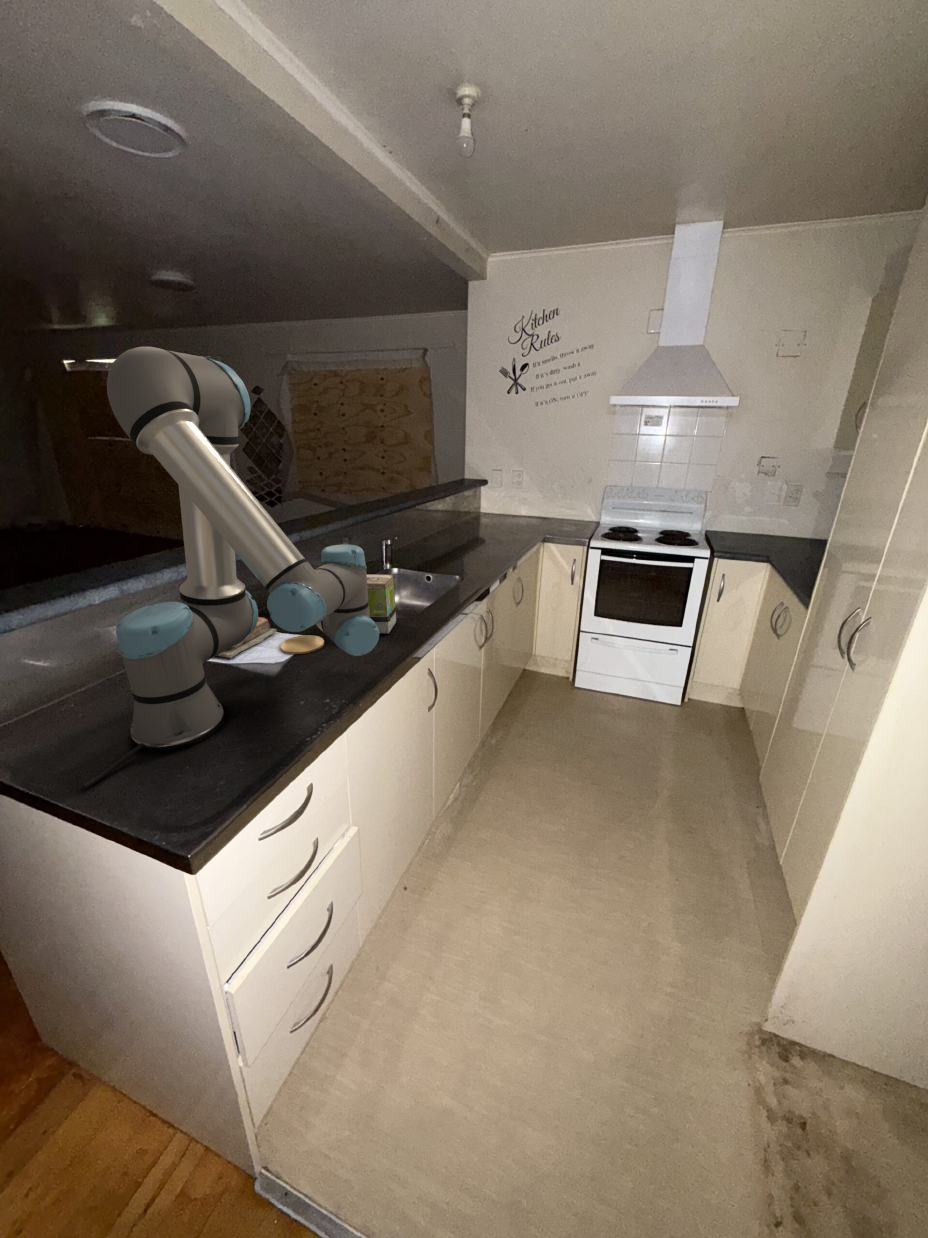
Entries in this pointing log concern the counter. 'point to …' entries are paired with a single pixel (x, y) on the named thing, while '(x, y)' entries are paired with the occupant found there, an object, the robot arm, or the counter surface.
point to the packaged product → (251, 638)
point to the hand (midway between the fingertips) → (297, 586)
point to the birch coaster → (302, 644)
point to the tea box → (381, 601)
